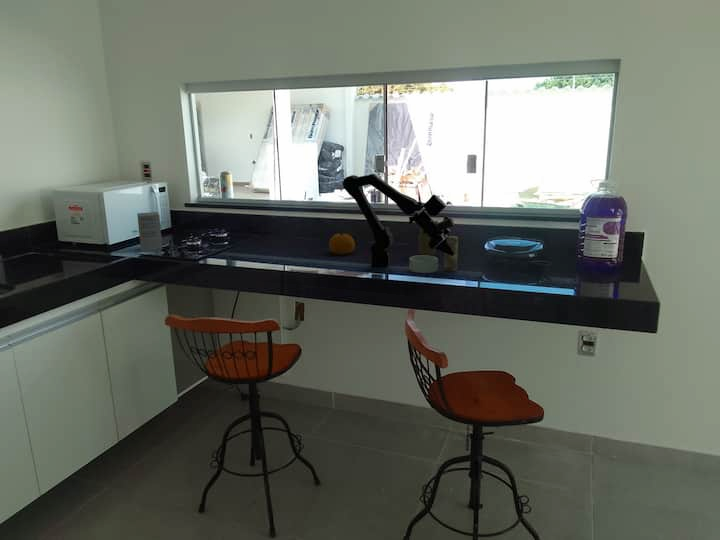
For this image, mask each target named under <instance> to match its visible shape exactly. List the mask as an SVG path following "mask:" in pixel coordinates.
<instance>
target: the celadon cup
mask: <svg viewBox="0 0 720 540" xmlns="http://www.w3.org/2000/svg"><path fill="white" fill-rule="evenodd" d="M408 265H409V266H408V267H409V271H410V272H413V273H418V274H430V273H436V272H437V271H438V270H439V269H438V268H439V267H438V266H439V258H438V257H436V256H434V255H432V256H429V255H420V254H418V255H413V256H410V257H409V264H408Z"/></svg>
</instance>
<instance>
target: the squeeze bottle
mask: <svg viewBox="0 0 720 540" xmlns="http://www.w3.org/2000/svg"><path fill="white" fill-rule="evenodd" d="M427 214H428V213H427ZM428 215H429V214H428ZM429 216H430V215H429ZM430 217H431V216H430ZM429 242H430V238H429V236H428V235H427V234H426V233H425V234H424V233H423V230H422V229H421V228H420V227H419V234H418V243H417V249H418V251H419V255H429V256H434V255H435V252H436V251H437V249H434V248H435V247H436V246H435V247H434V248H433V249H431V248H430V247H429Z"/></svg>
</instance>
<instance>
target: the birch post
mask: <svg viewBox="0 0 720 540" xmlns="http://www.w3.org/2000/svg"><path fill="white" fill-rule="evenodd" d="M446 237H447V244H448V245H449V246H450V248H451V249H452V251H453V252H454V255H453V256H451V255H449V254H447V253H444V254H443V255H444V260H443V261H444V263H443V264H444V265H443V270H444V271H446V272H457V271H458V248H459V247H458V246H459V237H458V236H456V235H450V236H446ZM446 237H445V238H446Z"/></svg>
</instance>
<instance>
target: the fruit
mask: <svg viewBox="0 0 720 540" xmlns="http://www.w3.org/2000/svg"><path fill="white" fill-rule="evenodd" d="M328 247H329V251H330V252H332V254H335V255H340V256H341V255H349V254H351V253H353V251H354V250H355V247H356V243H355V240H354V238H353V237H352V236H351V235H350V234H348V233H343V231H341V233H336V234H333V236H331V238H330V239H329V242H328Z"/></svg>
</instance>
